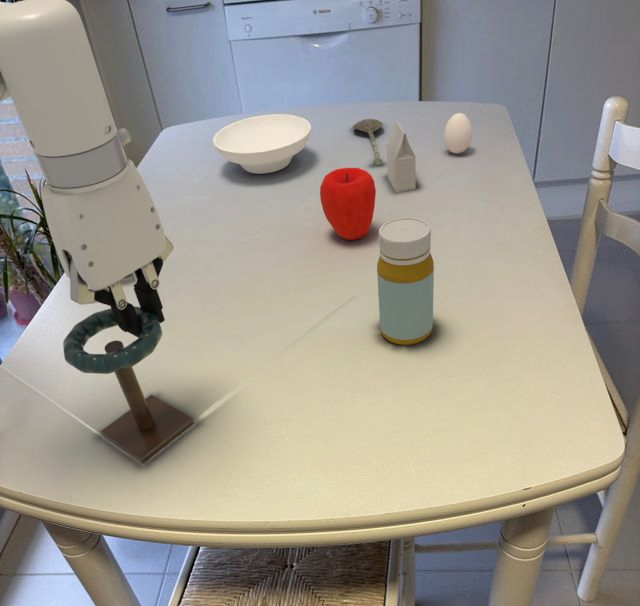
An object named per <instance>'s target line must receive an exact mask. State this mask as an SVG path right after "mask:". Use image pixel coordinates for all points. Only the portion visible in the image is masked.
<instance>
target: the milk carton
mask: <svg viewBox="0 0 640 606" xmlns="http://www.w3.org/2000/svg"><path fill="white" fill-rule="evenodd" d="M386 161H387V164H386V165H387V178H388V181H389V182H390V184H391V186H392V188H393V190H394V192H395V193H399V192H404V191H410V190H416V189H417V187H416V186H417V184H416V180H417V179H416V177H417V176H416V173H417V172H416V171H417V170H416V155H415V153H414V151H413V149H412V146H411V145H410V142H409V140H408V137H407V133H406V132H405V131H404V129H403V127H402V125H401V124H400V122H398V120H397V121H396V120H395V121H394V127H393V130H392V132H391V135H390V137H389V140H388V141H387V144H386Z"/></svg>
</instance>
